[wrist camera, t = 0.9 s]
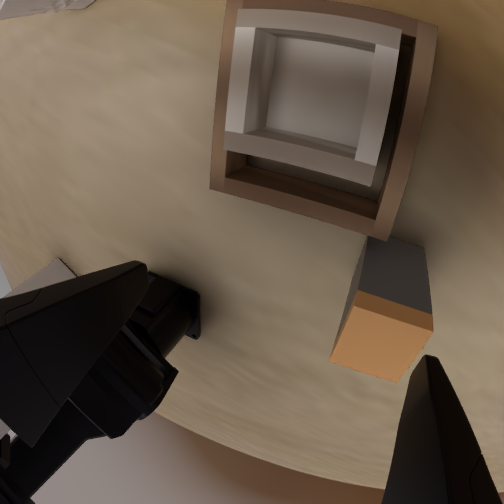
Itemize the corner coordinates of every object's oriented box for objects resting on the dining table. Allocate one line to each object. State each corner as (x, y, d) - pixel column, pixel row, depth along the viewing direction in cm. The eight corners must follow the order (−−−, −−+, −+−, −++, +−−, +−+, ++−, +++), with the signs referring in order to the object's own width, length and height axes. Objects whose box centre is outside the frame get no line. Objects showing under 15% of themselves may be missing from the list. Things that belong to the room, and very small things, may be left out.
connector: (402, 295, 20) (397, 382, 14) (352, 278, 21) (328, 361, 15) (424, 248, 18) (433, 331, 11) (369, 229, 19) (353, 305, 13)
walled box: (388, 220, 18) (386, 259, 14) (231, 175, 21) (191, 199, 17) (430, 37, 11) (445, 17, 7) (249, 7, 15) (208, -12, 11)
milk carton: (60, 284, 43) (-22, 352, 28) (58, 256, 38) (-37, 329, 24) (88, 313, 42) (5, 388, 27) (88, 286, 38) (-10, 370, 23)
